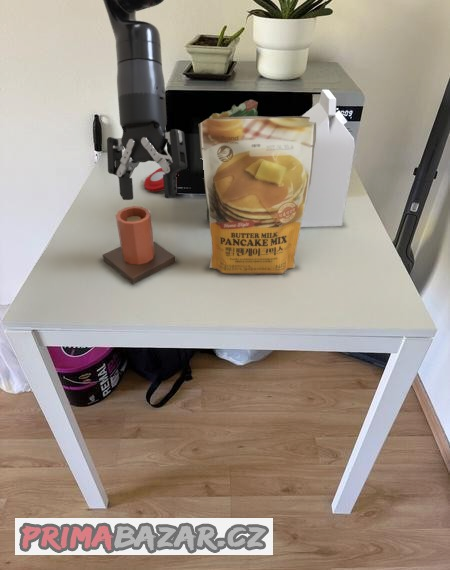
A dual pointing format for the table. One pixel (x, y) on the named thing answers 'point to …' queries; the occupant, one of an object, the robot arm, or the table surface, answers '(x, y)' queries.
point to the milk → (328, 165)
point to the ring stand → (141, 271)
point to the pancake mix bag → (256, 189)
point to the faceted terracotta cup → (135, 235)
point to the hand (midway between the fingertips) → (148, 199)
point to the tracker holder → (155, 181)
